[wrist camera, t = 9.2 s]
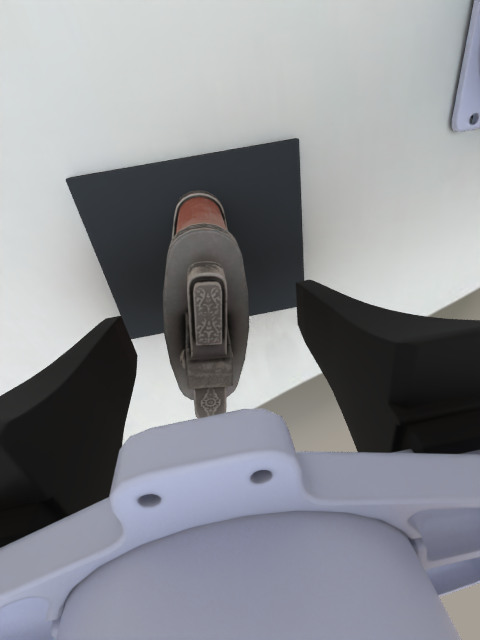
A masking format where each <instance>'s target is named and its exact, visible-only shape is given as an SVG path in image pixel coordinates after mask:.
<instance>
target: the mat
mask: <svg viewBox="0 0 480 640" xmlns="http://www.w3.org/2000/svg"><path fill="white" fill-rule="evenodd" d="M66 182H67V184H68V187H69V189H70V192H71V194H72V197H73V199H74V201H75V204H76V206H77V209H78V211H79V214H80V216H81V219H82V221H83V224H84V226H85V228H86V231H87V233H88V236H89V238H90V241H91V243H92V246H93V248H94V250H95V253H96V255H97V258H98V260H99V263H100V265H101V268H102V270H103V273H104V275H105V277H106V280H107V282H108V285H109V287H110V290H111V292H112V295H113V297H114V299H115V302H116V304H117V307H118V309H119V312H120V314H121V316H122V319H123V321H124V324H125V326H126V329H127V331H128V334H129V336H130V338H131V339H135V338H140V337H145V336H150V335H155V334H160V333H164V315H163V290H164V281H165V272H166V263H167V254H168V249H169V246H170V243H171V240H172V232H173V223H174V215H175V208H176V205H177V202H178V201H179V199H180V198H181V197H182V196H183V195H185V194H187V193H189V192H191V191H197V190H200V191H206V192H209V193H211V194H212V195H214V196H215V197H216V198H217V199H218V200H219V201H220V203H221V205H222V207H223V210H224V213H225V218H226V224H227V229H228V231H229V232H230V233H231V234H232V235H233V237H234V238H235V239H236V242H237V244H238V246H239V249H240V251H241V254H242V259H243V265H244V271H245V277H246V283H247V290H248V310H249V316H252V315H257V314H262V313H267V312H273V311H278V310H283V309H288V308H293V307H297V299H296V282H301V281H304V265H303V238H302V210H301V183H300V155H299V139H297V138H295V139H289V140H283V141H278V142H272V143H266V144H260V145H255V146H249V147H243V148H237V149H232V150H226V151H220V152H214V153H209V154H203V155H197V156H191V157H186V158H180V159H174V160H168V161H163V162H157V163H151V164H145V165H140V166H134V167H128V168H122V169H116V170H111V171H105V172H99V173H93V174H88V175H82V176H76V177H70V178H67V179H66Z"/></svg>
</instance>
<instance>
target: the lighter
mask: <svg viewBox="0 0 480 640" xmlns="http://www.w3.org/2000/svg"><path fill="white" fill-rule="evenodd" d="M163 315H164V334H165V339H166V344H167V349H168V354H169V359H170V364H171V367H172V369H173V372H174V375H175V377H176V380H177V383H178V386H179V388H180V390H181V392H182V393H183V395H184V396H186V397H188V398H189V399H191V400H194V405H195V414H196V417H197V418H203V417H208V416H212V415H217V414H222V413H226V397H228V396H229V395H230V394H231V393H233V392H234V390H235V389H236V387H237V385H238V381H239V378H240V374H241V371H242V367H243V364H244V360H245V354H246V347H247V339H248V332H249V310H248V290H247V283H246V277H245V271H244V265H243V259H242V254H241V251H240V249H239V246H238V244H237V242H236V239H235V238H234V237H233V235H232V234H231V233H230V232H229V231H228V229H227V224H226V218H225V213H224V210H223V207H222V205H221V203H220V201H219V200H218V199H217V198H216V197H215V196H214V195H212V194H211V193H209V192H206V191H200V190H197V191H191V192H189V193H187V194H185V195H183V196H182V197H181V198H180V199H179V201H178V202H177V205H176V208H175V215H174V223H173V232H172V240H171V243H170V246H169V249H168V254H167V263H166V272H165V281H164V290H163Z"/></svg>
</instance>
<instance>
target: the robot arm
mask: <svg viewBox="0 0 480 640" xmlns="http://www.w3.org/2000/svg"><path fill="white" fill-rule="evenodd" d="M472 115H473V120H472V122H471V123H469V119H470V117H471V116H472ZM479 128H480V0H474V4H473V10H472V15H471V20H470V26H469V31H468V37H467V42H466V47H465V53H464V58H463V63H462V69H461V74H460V80H459V85H458V90H457V96H456V101H455V107H454V112H453V117H452V129H453V130H454V131H468V130H473V129H479ZM296 299H297V318H298V326H299V328H300V331H301V334H302V336H303V338H304V341H305V343H306V345H307V347H308V348H309V350H310V352H311V354H312V355H313V357H314V359H315V360H316V362H317V364H318V365H319V367H320V369H321V371H322V372H323V374H324V376H325V377H326V379H327V381H328V383H329V385H330V387H331V388H332V390H333V393H334V395H335V397H336V400H337V402H338V404H339V407H340V409H341V411H342V413H343V416H344V419H345V421H346V423H347V426H348V428H349V431H350V433H351V436H352V438H353V441H354V444H355V446H356V449H357V451H358V452H307V451H304V452H303V451H295V448H294V445H293V442H292V439H291V436H290V433H289V430H288V428H287V426H286V424H285V422H284V420H283V418H282V416H279V415H277V414H275V413H272V412H271V411H268V410H266V409H242V410H237V411H232V412H227V413H222V414H217V415H212V416H208V417H203V418H198V419H193V420H188V421H183V422H178V423H173V424H169V425H164V426H159V427H154V428H150V429H148V430H145V431H143V432H140V433H138V434H136V435H133V436H131V437H129V438H128V440H127V441H126V442H125V444H124V445H123V446H122V440H123V432H124V426H125V421H126V417H127V413H128V408H129V404H130V400H131V396H132V392H133V387H134V383H135V378H136V370H137V353H136V351H135V348H134V346H133V343H132V341H131V338H130V336H129V334H128V331H127V329H126V326H125V324H124V321H123V319H122V316H117V317H112V318H107V319H105V320H103V321H102V322H101V323H99V324H98V325H97V326H96V327H95V328H94V329H92V330H91V331H90V332H89V333H88V334H87V335H86V336H84V337H83V338H82V339H81V340H80V341H79V342H78V343H76V344H75V345H74V346H73V347H72V348H70V349H69V350H68V351H67V352H66V353H64V354H63V355H62V356H61V357H59V358H58V359H57V360H56V361H54V362H53V363H52V364H50V365H49V366H48V367H46V368H45V369H43V370H42V371H41V372H39V373H38V374H36V375H35V376H33V377H32V378H30V379H29V380H27V381H25V382H24V383H22V384H20V385H19V386H17V387H15V388H13V389H12V390H10V391H8V392H7V393H5V394H3V395H1V396H0V640H461V638H460V636H459V634H458V632H457V630H456V628H455V626H454V624H453V623H452V621H451V619H450V617H449V615H448V613H447V611H446V609H445V607H444V605H443V604H442V602H441V600H440V598H439V597H441V596H444V595H447V594H450V593H453V592H455V591H458V590H461V589H464V588H467V587H470V586H473V585H476V584H479V583H480V320H458V319H443V318H433V317H425V316H418V315H412V314H407V313H402V312H396V311H392V310H388V309H384V308H381V307H377V306H373V305H370V304H367V303H364V302H362V301H359V300H356V299H354V298H351V297H349V296H346V295H344V294H341V293H339V292H337V291H335V290H333V289H330V288H328V287H326V286H324V285H322V284H320V283H317V282H315V281H312V280H306V281H301V282H296Z"/></svg>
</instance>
